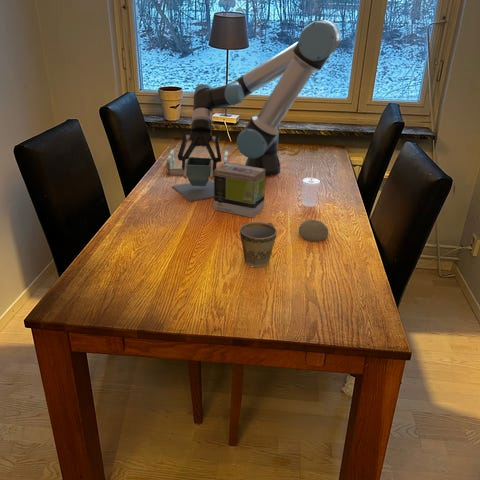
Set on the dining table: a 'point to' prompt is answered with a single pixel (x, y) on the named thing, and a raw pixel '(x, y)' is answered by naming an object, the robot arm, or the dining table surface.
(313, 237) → the sea urchin shell
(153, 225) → the dining table surface
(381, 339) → the dining table surface
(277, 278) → the dining table surface
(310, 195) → the beverage cup
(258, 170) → the tea box
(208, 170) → the flower pot
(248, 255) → the ceramic cup
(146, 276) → the dining table surface
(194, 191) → the mat
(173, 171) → the holder
